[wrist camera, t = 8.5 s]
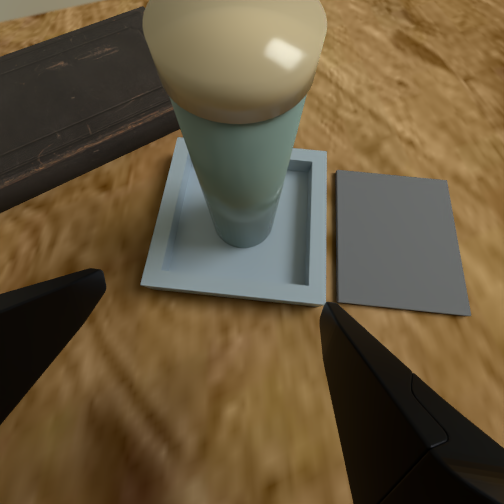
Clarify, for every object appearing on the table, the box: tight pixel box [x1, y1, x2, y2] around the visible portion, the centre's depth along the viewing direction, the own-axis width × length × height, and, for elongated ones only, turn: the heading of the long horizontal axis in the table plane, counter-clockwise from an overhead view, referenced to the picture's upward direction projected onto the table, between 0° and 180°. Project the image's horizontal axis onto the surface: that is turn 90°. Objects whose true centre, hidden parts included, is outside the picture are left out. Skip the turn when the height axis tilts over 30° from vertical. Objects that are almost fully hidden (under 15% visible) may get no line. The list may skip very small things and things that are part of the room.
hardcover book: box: [0, 6, 180, 213], centre depth 23 cm, size 16×23×2 cm
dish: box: [141, 137, 327, 307], centre depth 19 cm, size 13×13×2 cm
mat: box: [336, 170, 471, 316], centre depth 19 cm, size 12×10×1 cm
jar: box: [143, 0, 327, 248], centre depth 13 cm, size 5×5×13 cm
